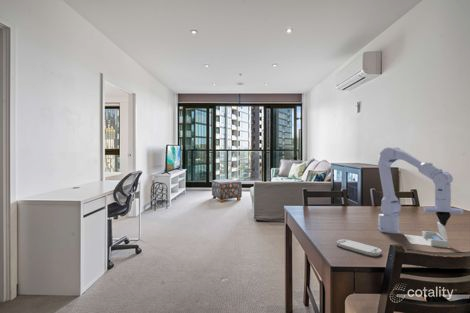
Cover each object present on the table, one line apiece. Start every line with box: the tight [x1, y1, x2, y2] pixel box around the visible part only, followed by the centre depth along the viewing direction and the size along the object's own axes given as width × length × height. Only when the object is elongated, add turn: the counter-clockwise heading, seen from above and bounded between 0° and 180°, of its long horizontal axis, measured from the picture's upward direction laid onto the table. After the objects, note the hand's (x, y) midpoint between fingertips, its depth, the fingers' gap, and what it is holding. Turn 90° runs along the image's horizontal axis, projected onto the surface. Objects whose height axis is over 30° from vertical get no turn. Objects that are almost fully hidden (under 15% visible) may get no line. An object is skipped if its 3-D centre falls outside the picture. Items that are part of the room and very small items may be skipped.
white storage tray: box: [403, 230, 451, 249], centre depth 127 cm, size 15×14×3 cm
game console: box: [336, 238, 383, 257], centre depth 116 cm, size 18×2×8 cm
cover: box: [436, 221, 449, 240], centre depth 124 cm, size 6×9×1 cm
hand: (442, 228), depth 123 cm, fingers closed, pressing on cover
